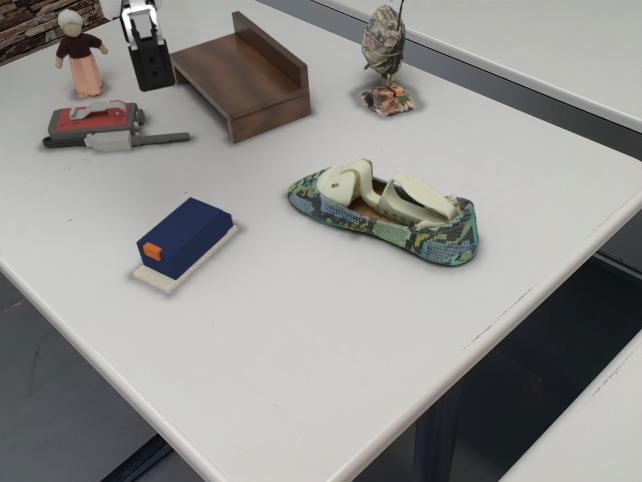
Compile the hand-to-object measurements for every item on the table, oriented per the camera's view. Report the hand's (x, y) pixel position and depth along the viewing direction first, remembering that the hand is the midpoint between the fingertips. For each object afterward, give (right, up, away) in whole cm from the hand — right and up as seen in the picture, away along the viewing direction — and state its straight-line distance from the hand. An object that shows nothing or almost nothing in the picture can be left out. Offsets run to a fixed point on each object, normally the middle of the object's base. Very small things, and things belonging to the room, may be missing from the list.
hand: (149, 62), depth 64 cm
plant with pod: (+25, +8, +35) cm, 43 cm away
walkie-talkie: (-12, +2, +32) cm, 34 cm away
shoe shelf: (+4, +8, +36) cm, 37 cm away
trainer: (+1, -17, +15) cm, 22 cm away
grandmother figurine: (-18, +10, +40) cm, 45 cm away
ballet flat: (+23, -13, +17) cm, 31 cm away
